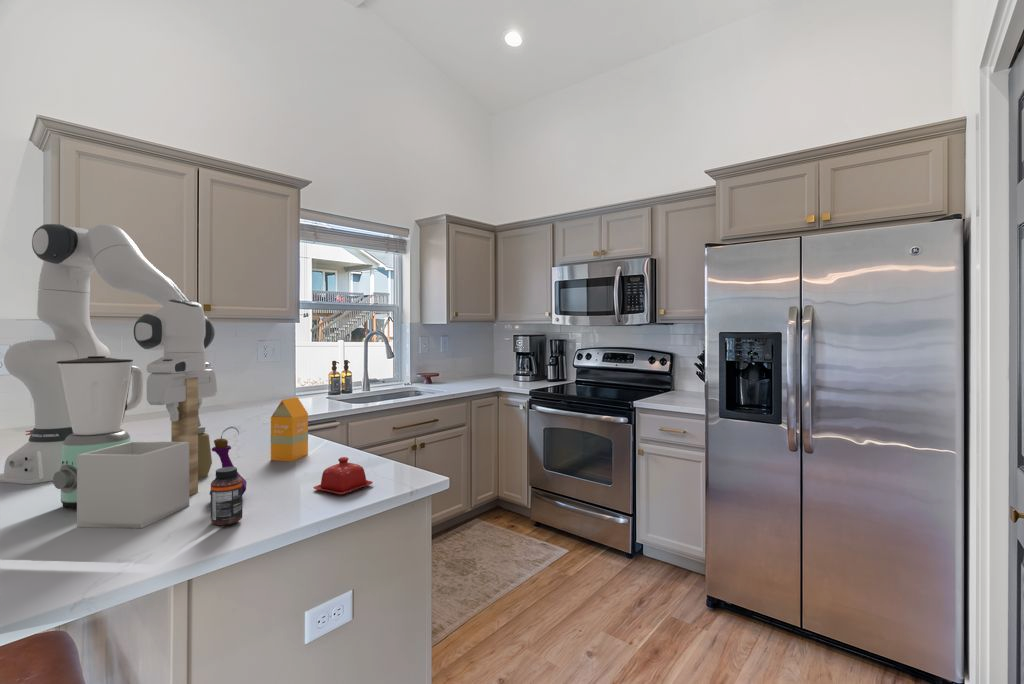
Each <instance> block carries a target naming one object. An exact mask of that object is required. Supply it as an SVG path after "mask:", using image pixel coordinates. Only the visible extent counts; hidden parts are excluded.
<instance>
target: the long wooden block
mask: <svg viewBox="0 0 1024 684" xmlns="http://www.w3.org/2000/svg"><path fill="white" fill-rule="evenodd" d="M185 386H186V401H184V402H179V406H178V407H177V409H178V412H179V413H181V420H179V421H171V420H170V421H171V423H170V425H171V429H170V430H171V435H170V436H171V441H170V442H189V497H191V496H193V495H196V494H197V493H199V479H198V416H199V415H198V377H194V378H186V379H185Z"/></svg>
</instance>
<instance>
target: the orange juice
mask: <svg viewBox="0 0 1024 684" xmlns="http://www.w3.org/2000/svg"><path fill="white" fill-rule="evenodd" d="M307 455H309V413H308V412H307V410H306V408H305V407H304V405H303V403H302V402H301V400H300V399H299V397H298V396H296V397H290V398H287V399H281V401H280V402H279V404H278V406H277V408H276V409H275V410H274V411H273V414H272V415H271V416H270V461H280V462H281V461H283V462H294V461H295V460H296V461H297V460H298V459H300V458H302V457H305V456H307Z"/></svg>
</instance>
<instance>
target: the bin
mask: <svg viewBox="0 0 1024 684" xmlns="http://www.w3.org/2000/svg"><path fill="white" fill-rule="evenodd" d="M189 506H190V496H189V442H171V441H154V440H153V441H150V440H148V441H143V440H140V441H139V440H137V441H136V440H131V442H127V443H123V444H119V445H115V446H111V447H107V448H103V449H99V450H95V451H91V452H87V453H83V454H79V455H77V507H76V527H78V528H103V529H104V528H105V529H106V528H109V529H110V528H111V529H113V528H114V529H143V528H145V527H147V526H149V525H152V524H153V523H156V522H158V521H160V520H162V519H164V518H166V517H168V516H171V515H172V514H173V515H174V513H177V512H179V511H181V510H183V509H186V508H188V507H189Z"/></svg>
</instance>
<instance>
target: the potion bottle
mask: <svg viewBox="0 0 1024 684" xmlns="http://www.w3.org/2000/svg"><path fill="white" fill-rule="evenodd" d="M230 429H235V431H236V432H237V435H240V431H239V429H238V428H237V427H235V426H233V425H232V426H228V427H227V428H225V429H224V430H223V431H222V433H221V436H220V438H216V439H215V440H213V443H214V444H213V445H214V447H212V448H211V452H215V454H216V455H217V456H218V457H219V459H220V463H221V468H223V467H235V466H234V464H233V462H232V460H231V458H230V456H229V451H230V450H231V449H232V446H231V445H228V444H229V441H228V439H227V438H223V435H224V433H225V432H226V431H228V430H230ZM237 475H238V477H240V478H241V479H242V496H244V494H245V493H246V491H247V480H246V479H245V478H243V476H242V475H241V474H240V473H239V472H238V471H237ZM209 495H210V496H211V489H210V491H209Z"/></svg>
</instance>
